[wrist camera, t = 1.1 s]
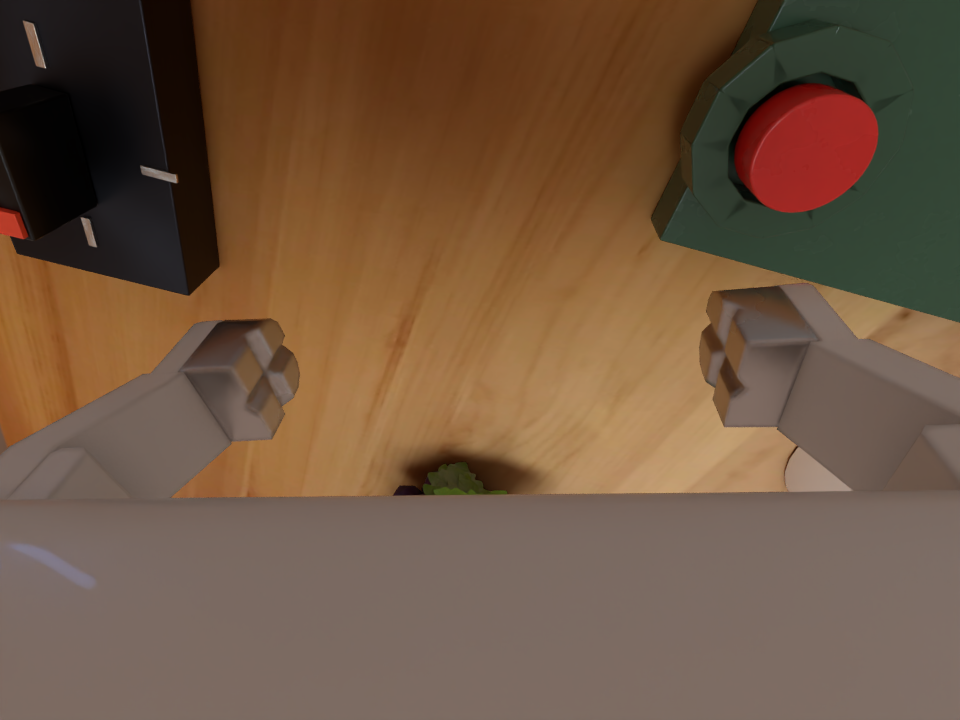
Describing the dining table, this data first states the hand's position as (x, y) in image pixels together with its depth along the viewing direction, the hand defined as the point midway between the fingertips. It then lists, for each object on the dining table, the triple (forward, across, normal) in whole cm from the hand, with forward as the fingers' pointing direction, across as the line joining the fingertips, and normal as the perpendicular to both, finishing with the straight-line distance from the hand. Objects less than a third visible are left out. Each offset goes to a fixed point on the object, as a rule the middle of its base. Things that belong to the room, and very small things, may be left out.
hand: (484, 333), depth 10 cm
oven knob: (+12, +17, -2) cm, 21 cm away
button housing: (+14, -16, +3) cm, 22 cm away
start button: (+11, -10, +1) cm, 15 cm away
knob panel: (+15, +17, -2) cm, 23 cm away
